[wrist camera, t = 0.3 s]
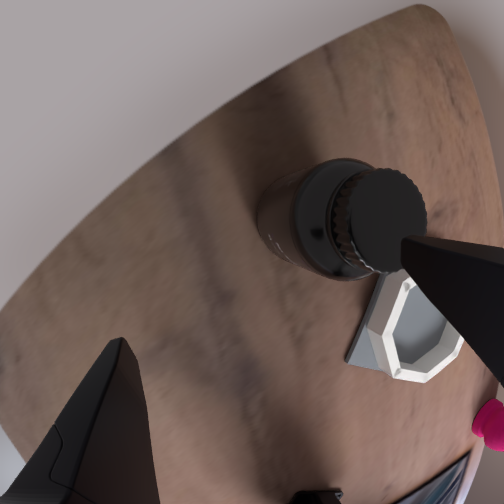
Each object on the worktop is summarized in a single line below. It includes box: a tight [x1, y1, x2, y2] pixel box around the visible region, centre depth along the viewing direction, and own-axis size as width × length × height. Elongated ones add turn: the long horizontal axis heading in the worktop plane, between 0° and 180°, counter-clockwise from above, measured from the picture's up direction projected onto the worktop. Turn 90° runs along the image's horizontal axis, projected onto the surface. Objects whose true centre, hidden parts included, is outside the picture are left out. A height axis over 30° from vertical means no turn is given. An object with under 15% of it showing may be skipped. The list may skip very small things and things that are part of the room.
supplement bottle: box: [257, 158, 427, 281], centre depth 19 cm, size 7×7×12 cm
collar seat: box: [345, 269, 464, 383], centre depth 27 cm, size 12×12×3 cm
